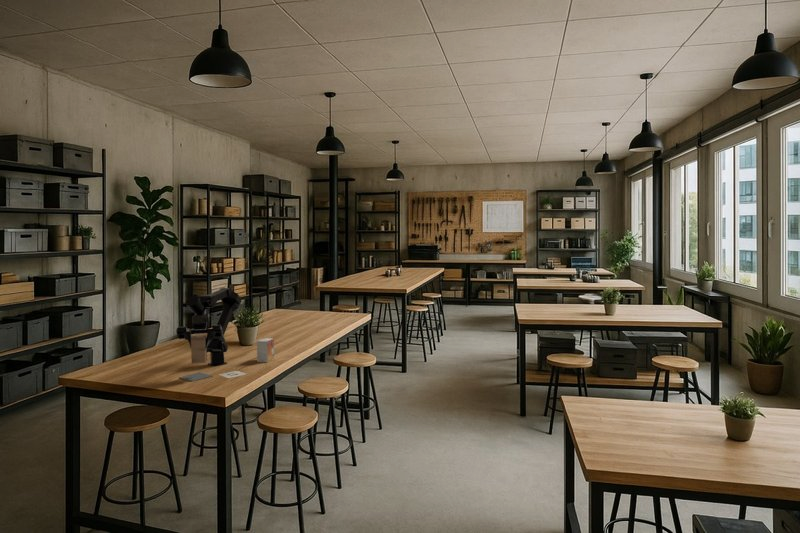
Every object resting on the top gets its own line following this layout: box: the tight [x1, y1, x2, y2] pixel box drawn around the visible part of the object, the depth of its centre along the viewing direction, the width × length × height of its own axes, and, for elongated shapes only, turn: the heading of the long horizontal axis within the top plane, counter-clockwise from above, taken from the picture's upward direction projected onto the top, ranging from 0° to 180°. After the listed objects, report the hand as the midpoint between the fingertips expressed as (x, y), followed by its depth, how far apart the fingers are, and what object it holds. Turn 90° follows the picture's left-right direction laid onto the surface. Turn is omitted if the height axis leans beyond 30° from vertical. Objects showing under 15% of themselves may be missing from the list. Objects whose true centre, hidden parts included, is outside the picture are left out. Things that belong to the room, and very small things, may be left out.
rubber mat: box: [178, 372, 214, 383], centre depth 227 cm, size 10×10×1 cm
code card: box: [218, 370, 247, 379], centre depth 232 cm, size 9×9×1 cm
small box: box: [256, 337, 275, 363], centre depth 257 cm, size 8×6×10 cm
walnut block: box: [190, 334, 208, 364], centre depth 227 cm, size 6×6×11 cm
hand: (198, 347), depth 225 cm, fingers closed on walnut block, 6 cm apart
